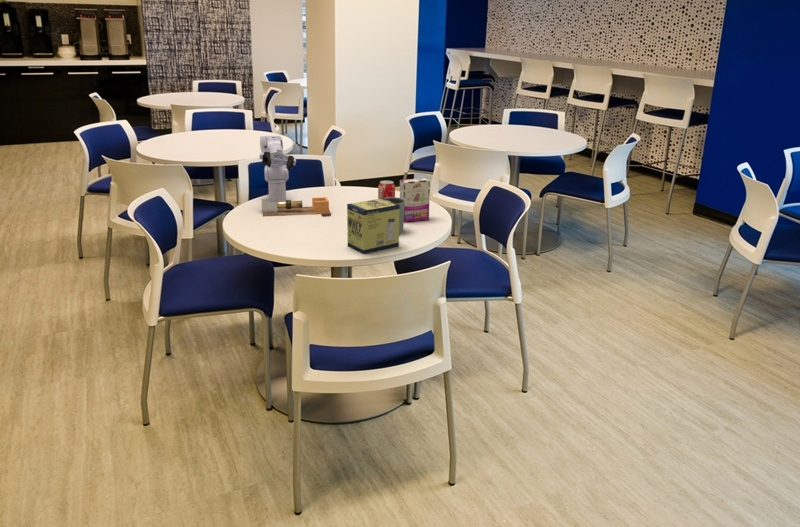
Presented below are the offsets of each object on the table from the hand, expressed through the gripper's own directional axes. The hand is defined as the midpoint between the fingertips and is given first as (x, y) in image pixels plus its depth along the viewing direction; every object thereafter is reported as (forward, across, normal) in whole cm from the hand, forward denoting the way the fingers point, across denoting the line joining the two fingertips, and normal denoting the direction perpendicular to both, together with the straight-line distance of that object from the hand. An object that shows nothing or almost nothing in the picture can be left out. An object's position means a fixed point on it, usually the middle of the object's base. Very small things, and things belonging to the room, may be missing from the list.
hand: (279, 166), depth 268 cm
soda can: (+3, +47, +10) cm, 48 cm away
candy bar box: (+19, +54, +6) cm, 57 cm away
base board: (+2, +10, +18) cm, 21 cm away
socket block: (+2, +20, +16) cm, 25 cm away
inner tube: (+2, +4, +17) cm, 18 cm away
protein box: (+48, +30, +6) cm, 57 cm away
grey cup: (+32, +41, +6) cm, 52 cm away
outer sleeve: (+2, 0, +19) cm, 19 cm away
